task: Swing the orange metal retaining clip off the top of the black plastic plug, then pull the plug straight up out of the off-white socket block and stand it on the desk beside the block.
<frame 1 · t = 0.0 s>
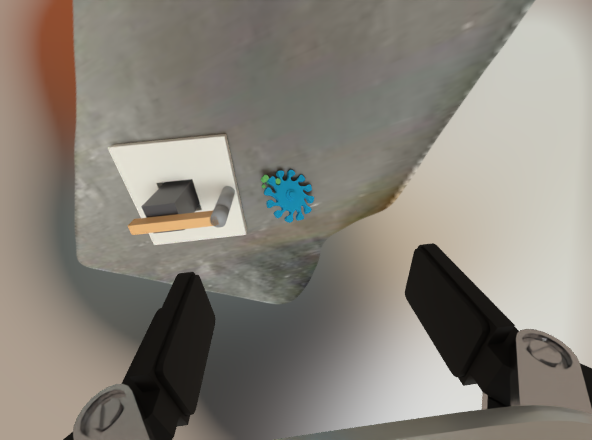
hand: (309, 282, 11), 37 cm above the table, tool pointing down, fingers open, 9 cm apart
blue spiky figurine: (286, 185, 48), on the table
clip: (181, 220, 37), point 11 cm above the table, hinge at 0.0°
plug: (183, 192, 46), resting in socket block
socket block: (188, 192, 46), on the table
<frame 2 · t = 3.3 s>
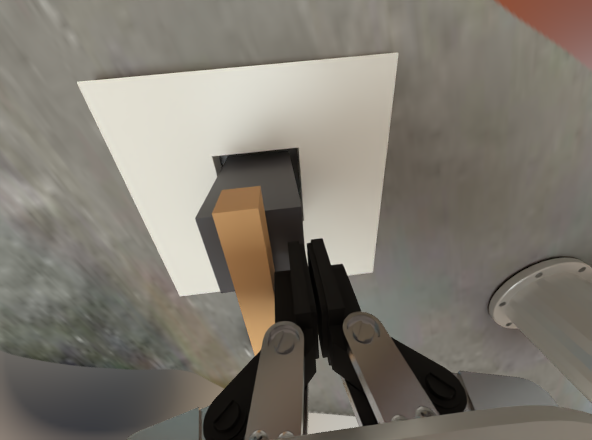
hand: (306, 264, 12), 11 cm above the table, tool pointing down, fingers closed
clip: (265, 309, 13), point 11 cm above the table, hinge at 0.0°, touching gripper
plug: (262, 181, 21), resting in socket block
socket block: (264, 192, 22), on the table
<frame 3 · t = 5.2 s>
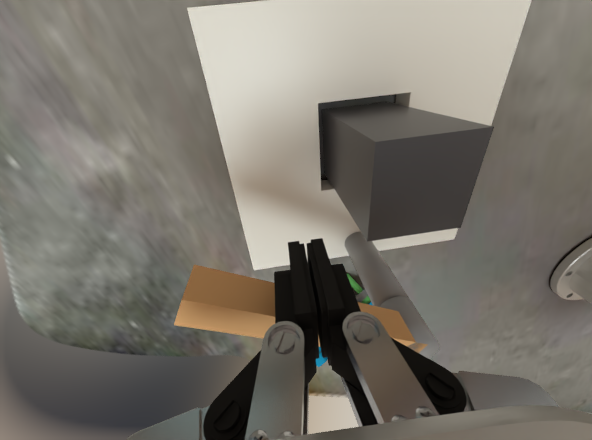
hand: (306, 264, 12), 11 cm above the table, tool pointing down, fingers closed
blue spiky figurine: (336, 299, 30), on the table
clip: (323, 312, 13), point 11 cm above the table, hinge at 60.3°, touching gripper
plug: (353, 139, 19), resting in socket block
socket block: (353, 151, 20), on the table
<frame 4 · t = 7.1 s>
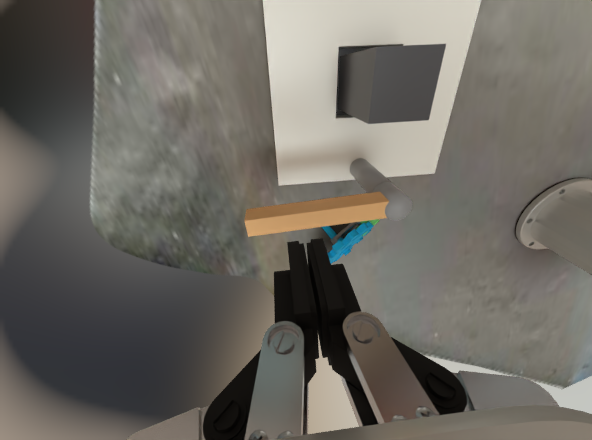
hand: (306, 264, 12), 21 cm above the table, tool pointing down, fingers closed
blue spiky figurine: (338, 229, 37), on the table
clip: (326, 209, 22), point 11 cm above the table, hinge at 93.2°
plug: (361, 82, 26), resting in socket block
socket block: (360, 93, 27), on the table
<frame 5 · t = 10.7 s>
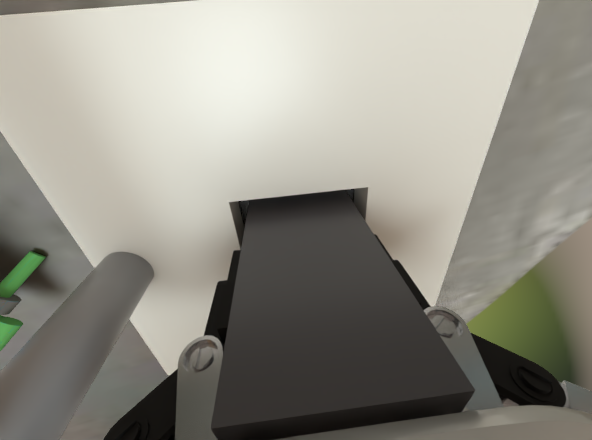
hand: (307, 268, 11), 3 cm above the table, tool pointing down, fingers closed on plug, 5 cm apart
plug: (299, 228, 14), resting in socket block, touching gripper
socket block: (282, 230, 14), on the table
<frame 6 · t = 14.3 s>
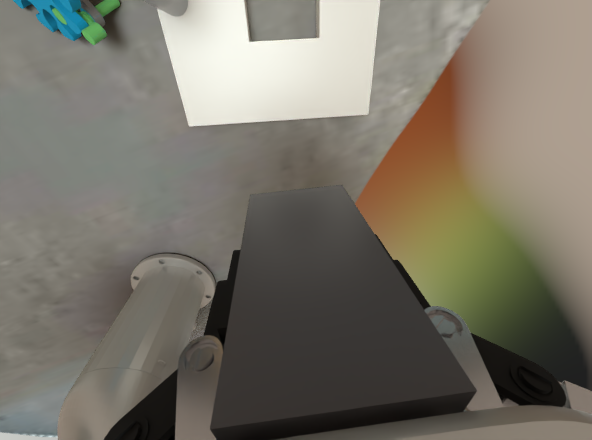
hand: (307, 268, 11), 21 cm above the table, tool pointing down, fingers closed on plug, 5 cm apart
plug: (299, 228, 14), point 17 cm above the table, touching gripper
when the fingers open (5 cm above the table, at t = 18.1 s): plug drops 1 cm, on the table.
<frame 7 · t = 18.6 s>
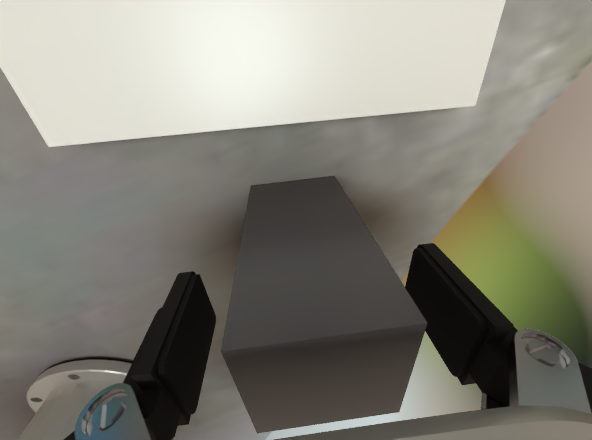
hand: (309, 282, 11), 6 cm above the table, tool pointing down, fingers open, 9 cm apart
plug: (296, 216, 16), on the table
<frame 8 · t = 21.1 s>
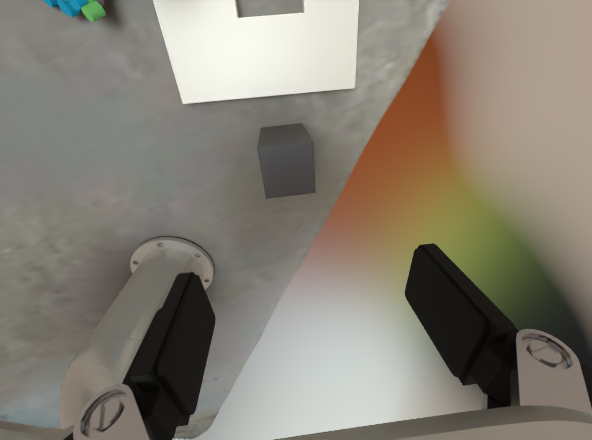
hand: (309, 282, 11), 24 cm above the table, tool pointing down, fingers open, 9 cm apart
plug: (283, 145, 31), on the table
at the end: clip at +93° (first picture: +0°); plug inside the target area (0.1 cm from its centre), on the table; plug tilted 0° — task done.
